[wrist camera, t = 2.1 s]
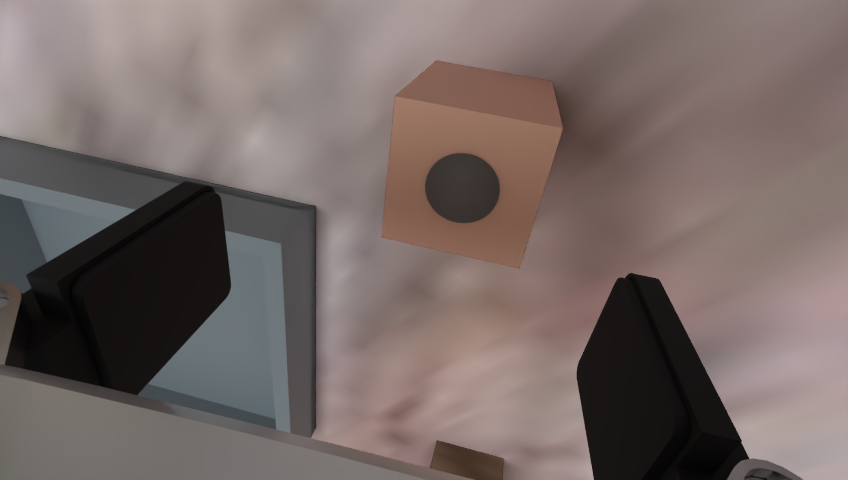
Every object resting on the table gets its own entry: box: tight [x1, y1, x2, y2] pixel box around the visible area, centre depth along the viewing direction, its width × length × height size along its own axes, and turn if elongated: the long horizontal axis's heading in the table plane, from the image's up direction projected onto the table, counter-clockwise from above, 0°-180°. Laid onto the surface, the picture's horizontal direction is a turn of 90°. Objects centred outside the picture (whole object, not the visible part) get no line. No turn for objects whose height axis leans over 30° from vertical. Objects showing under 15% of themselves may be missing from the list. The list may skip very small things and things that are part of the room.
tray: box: [0, 137, 316, 438], centre depth 28 cm, size 20×20×4 cm
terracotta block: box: [382, 61, 563, 268], centre depth 17 cm, size 5×5×7 cm
